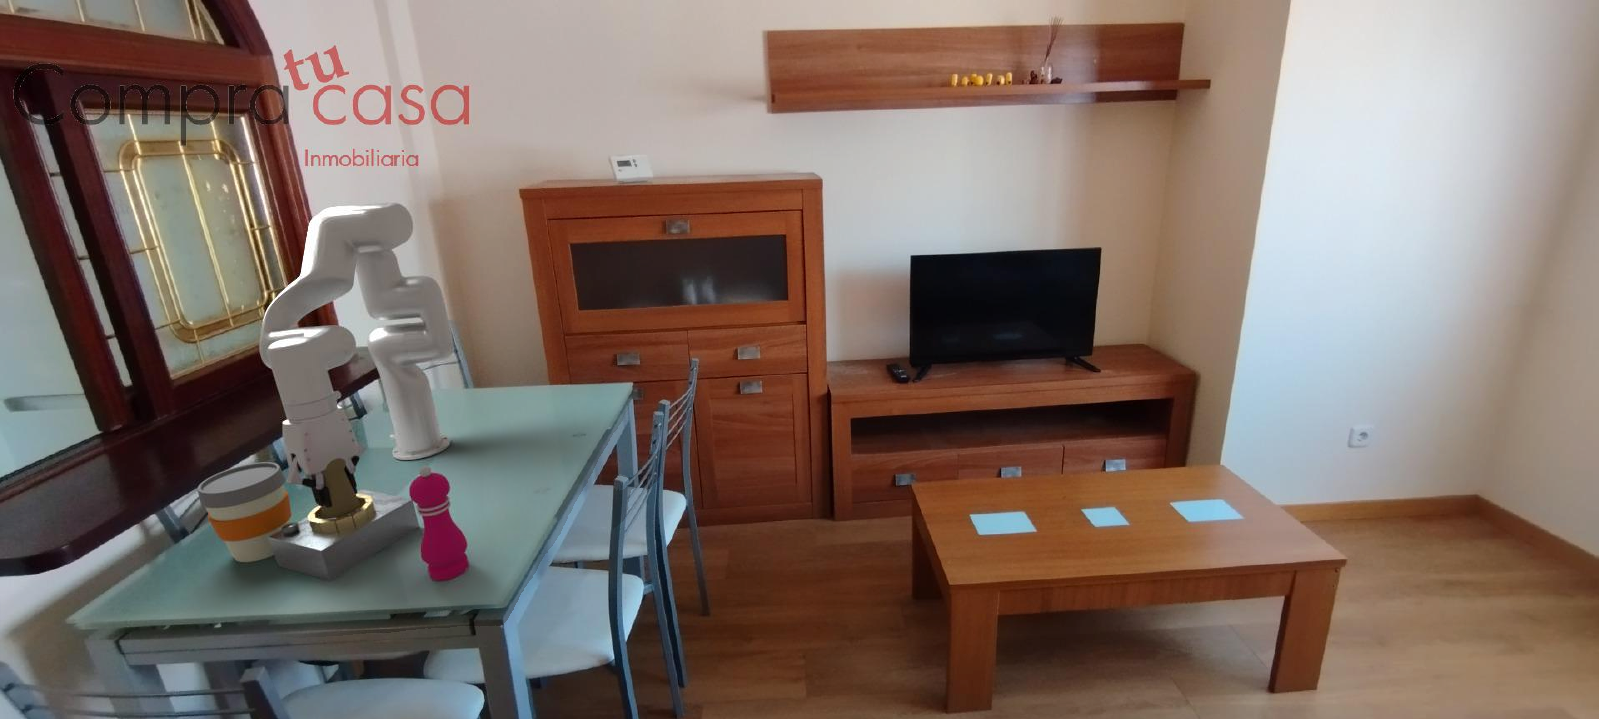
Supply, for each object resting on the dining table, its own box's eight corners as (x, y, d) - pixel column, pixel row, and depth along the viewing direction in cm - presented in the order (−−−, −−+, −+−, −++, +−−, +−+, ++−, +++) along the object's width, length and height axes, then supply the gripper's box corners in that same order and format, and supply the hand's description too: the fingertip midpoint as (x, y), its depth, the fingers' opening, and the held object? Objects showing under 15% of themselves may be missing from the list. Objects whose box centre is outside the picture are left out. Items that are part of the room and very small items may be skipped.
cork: (368, 503, 130) (353, 450, 126) (338, 520, 124) (322, 465, 121) (344, 499, 132) (329, 447, 128) (314, 516, 126) (297, 461, 123)
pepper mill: (436, 560, 124) (411, 459, 118) (478, 556, 125) (455, 455, 119) (419, 584, 117) (391, 479, 111) (463, 580, 118) (437, 475, 112)
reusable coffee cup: (204, 569, 125) (176, 496, 121) (255, 531, 137) (231, 463, 133) (273, 566, 125) (248, 492, 120) (318, 528, 137) (297, 459, 132)
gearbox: (278, 565, 125) (265, 527, 123) (369, 515, 141) (359, 480, 138) (330, 580, 120) (317, 540, 117) (419, 526, 136) (410, 490, 133)
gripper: (342, 388, 130) (366, 476, 136) (246, 423, 116) (278, 519, 122) (369, 392, 128) (393, 481, 133) (275, 428, 113) (306, 526, 119)
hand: (338, 498), depth 127 cm, fingers closed on cork, 4 cm apart
